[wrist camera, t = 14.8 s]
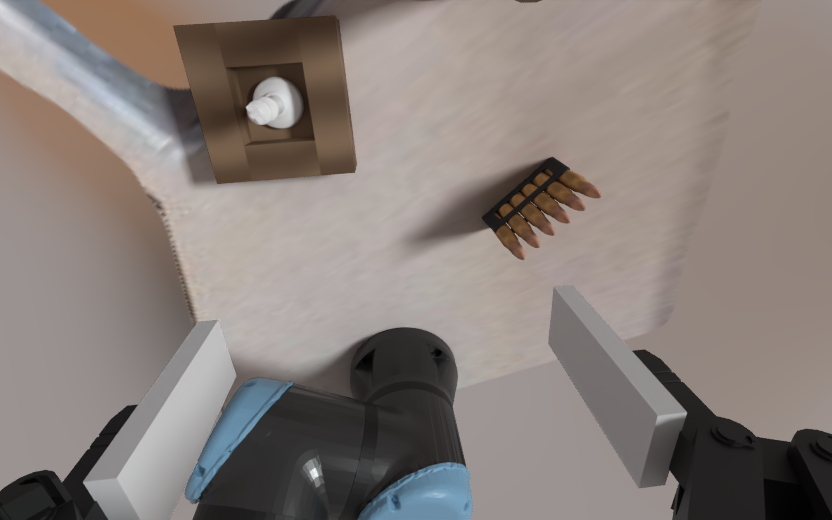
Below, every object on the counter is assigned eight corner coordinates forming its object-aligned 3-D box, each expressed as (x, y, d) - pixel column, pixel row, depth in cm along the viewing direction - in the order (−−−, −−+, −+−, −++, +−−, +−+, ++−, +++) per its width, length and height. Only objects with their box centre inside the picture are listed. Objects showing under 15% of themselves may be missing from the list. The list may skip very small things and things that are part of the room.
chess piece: (278, 138, 43) (253, 159, 34) (243, 97, 41) (206, 108, 32) (314, 108, 42) (298, 122, 33) (279, 65, 40) (252, 67, 31)
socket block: (356, 164, 45) (354, 172, 42) (230, 174, 45) (217, 183, 41) (338, 20, 39) (334, 15, 36) (192, 29, 39) (173, 25, 35)
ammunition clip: (551, 156, 47) (603, 182, 36) (560, 167, 48) (614, 196, 37) (481, 217, 49) (510, 259, 39) (490, 227, 50) (521, 271, 39)
